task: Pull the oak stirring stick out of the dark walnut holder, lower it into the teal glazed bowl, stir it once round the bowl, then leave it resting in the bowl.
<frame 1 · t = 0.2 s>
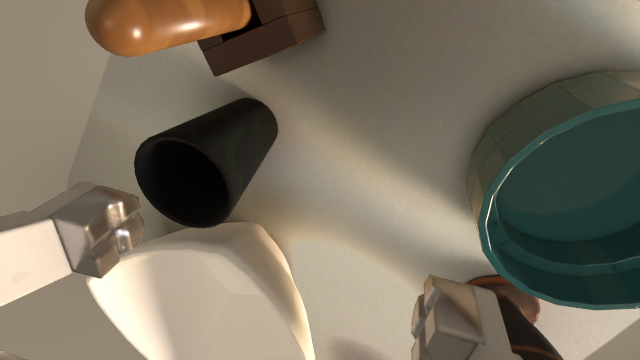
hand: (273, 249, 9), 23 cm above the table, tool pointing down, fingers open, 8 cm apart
cup: (252, 124, 34), on the table
holder: (275, 3, 27), on the table
vase: (495, 300, 38), on the table
mixing bowl: (575, 172, 28), on the table
bowl: (247, 254, 43), on the table
stick: (222, 10, 20), in the holder
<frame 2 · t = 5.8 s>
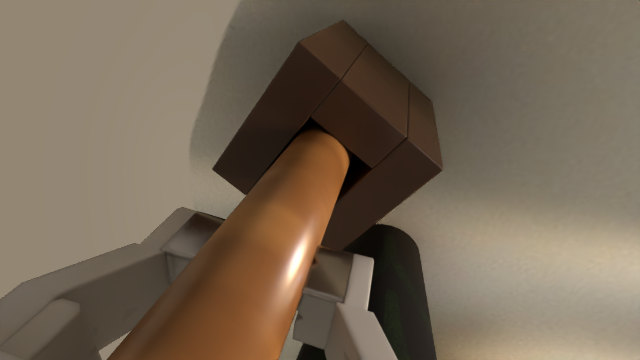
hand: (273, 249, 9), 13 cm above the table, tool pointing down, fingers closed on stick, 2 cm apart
cup: (380, 252, 25), on the table
holder: (349, 106, 20), on the table
stick: (309, 174, 12), in the holder, touching gripper
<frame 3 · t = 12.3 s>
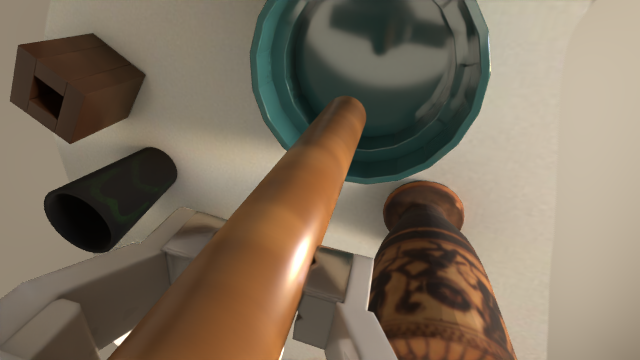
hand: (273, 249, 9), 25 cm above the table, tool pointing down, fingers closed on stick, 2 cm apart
cup: (158, 166, 43), on the table
holder: (111, 77, 37), on the table
vase: (422, 211, 37), on the table
mixing bowl: (370, 63, 30), on the table
stick: (309, 178, 12), point 22 cm above the table, touching gripper
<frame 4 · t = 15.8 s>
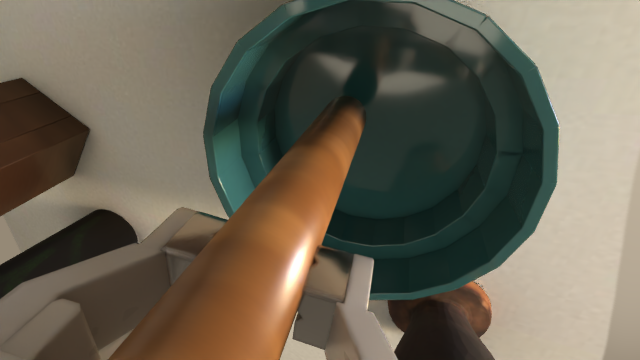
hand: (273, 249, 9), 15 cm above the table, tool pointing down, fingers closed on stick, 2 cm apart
cup: (115, 230, 35), on the table
holder: (49, 130, 30), on the table
vase: (437, 301, 29), on the table
mixing bowl: (373, 130, 23), on the table
stick: (309, 178, 12), point 12 cm above the table, touching gripper
when the fingers open (13 cm above the table, at t = 18.8 s): stick drops 3 cm and tips over, resting on mixing bowl.
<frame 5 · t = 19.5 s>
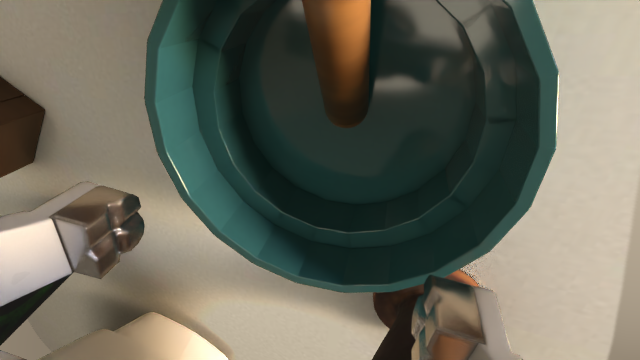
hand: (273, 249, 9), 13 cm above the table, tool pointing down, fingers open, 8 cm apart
cup: (81, 222, 33), on the table
holder: (3, 112, 28), on the table
vase: (426, 296, 27), on the table
mixing bowl: (350, 102, 20), on the table
bowl: (182, 343, 40), on the table
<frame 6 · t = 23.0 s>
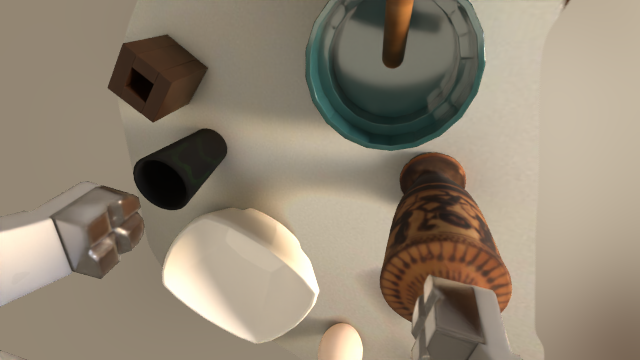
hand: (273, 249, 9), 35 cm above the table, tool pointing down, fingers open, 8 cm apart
egg: (345, 325, 65), on the table
cup: (211, 145, 51), on the table
holder: (178, 70, 46), on the table
vase: (431, 178, 45), on the table
mixing bowl: (392, 57, 39), on the table
bowl: (263, 237, 58), on the table
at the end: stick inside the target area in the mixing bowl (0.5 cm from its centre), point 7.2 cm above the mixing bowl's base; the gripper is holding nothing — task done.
